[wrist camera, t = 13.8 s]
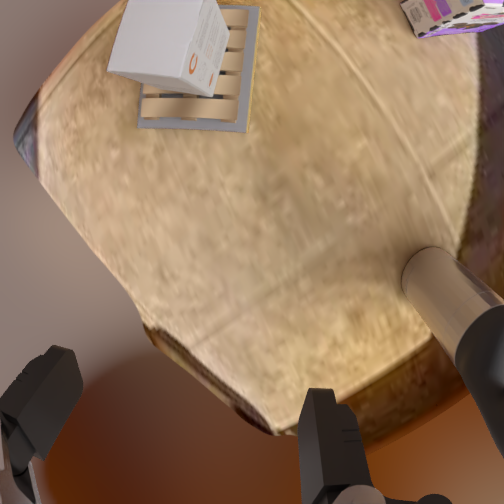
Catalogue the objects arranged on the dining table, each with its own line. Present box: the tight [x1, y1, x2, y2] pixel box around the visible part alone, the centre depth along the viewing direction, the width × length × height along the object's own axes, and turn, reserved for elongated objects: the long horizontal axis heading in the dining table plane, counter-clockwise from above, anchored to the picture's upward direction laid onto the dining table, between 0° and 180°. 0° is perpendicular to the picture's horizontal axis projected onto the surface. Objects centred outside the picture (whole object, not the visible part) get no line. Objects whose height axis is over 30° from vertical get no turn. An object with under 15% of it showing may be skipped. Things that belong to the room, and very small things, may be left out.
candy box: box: [400, 0, 504, 38], centre depth 20 cm, size 14×6×16 cm, turn 112°
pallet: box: [141, 9, 249, 123], centre depth 30 cm, size 11×14×2 cm
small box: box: [106, 0, 230, 97], centre depth 23 cm, size 8×6×13 cm
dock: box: [137, 5, 261, 133], centre depth 32 cm, size 13×16×3 cm
